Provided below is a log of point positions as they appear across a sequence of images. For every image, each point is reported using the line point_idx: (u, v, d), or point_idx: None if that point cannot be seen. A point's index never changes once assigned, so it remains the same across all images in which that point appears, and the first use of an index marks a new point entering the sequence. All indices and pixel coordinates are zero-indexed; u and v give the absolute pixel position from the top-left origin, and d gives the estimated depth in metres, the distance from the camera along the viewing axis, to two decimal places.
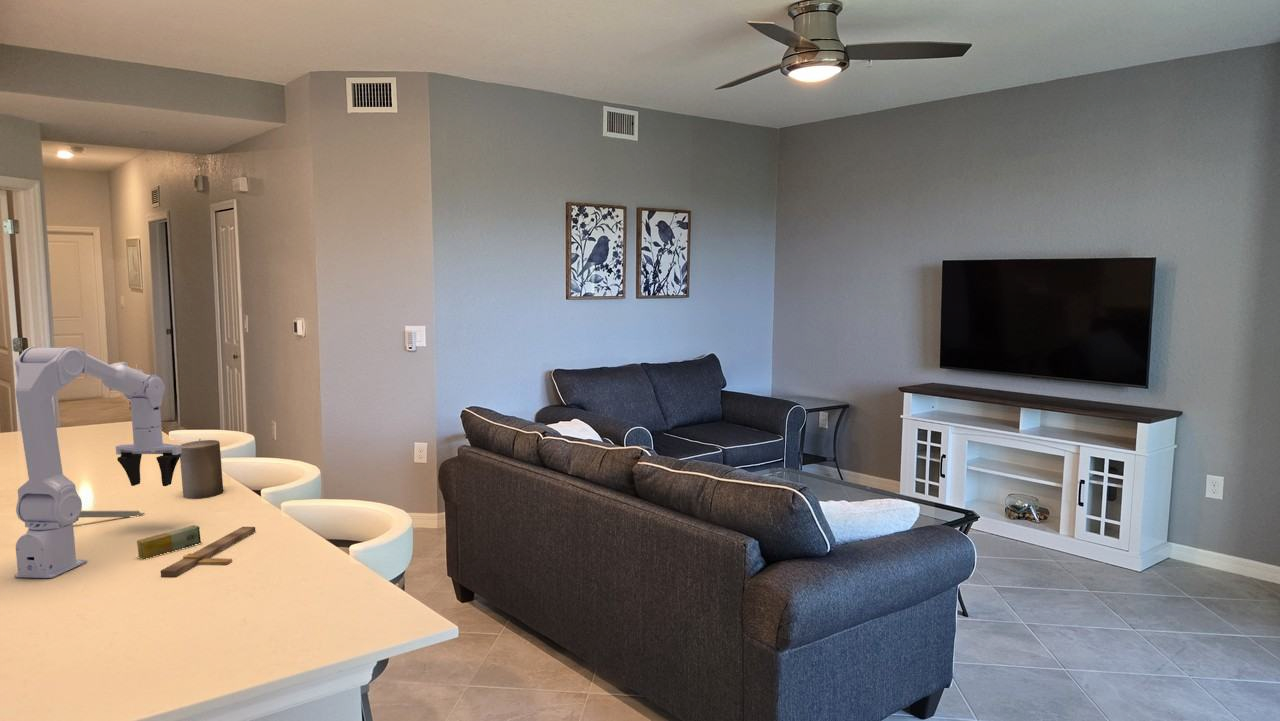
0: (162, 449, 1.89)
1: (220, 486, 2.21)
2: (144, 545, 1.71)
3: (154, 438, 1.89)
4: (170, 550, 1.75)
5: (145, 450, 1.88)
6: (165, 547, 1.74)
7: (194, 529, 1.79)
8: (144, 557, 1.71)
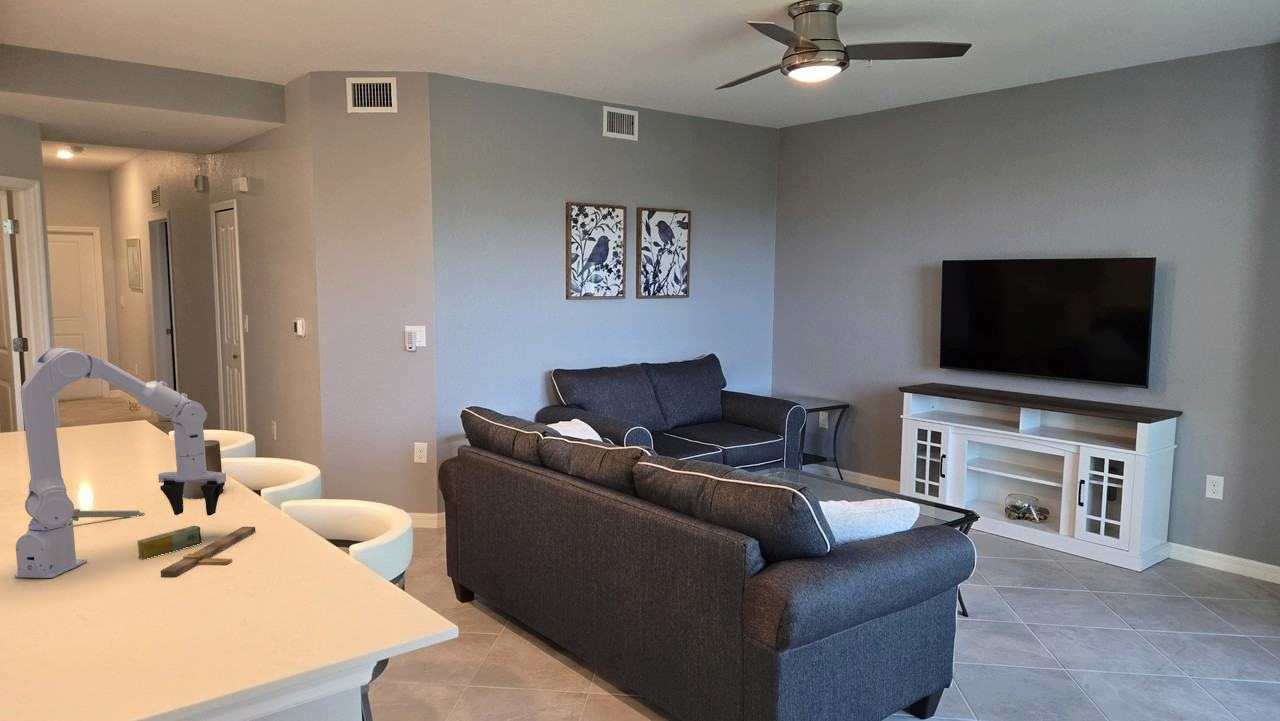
0: (206, 477, 1.82)
1: None
2: (145, 545, 1.70)
3: (198, 466, 1.82)
4: (171, 550, 1.75)
5: (189, 478, 1.81)
6: (165, 547, 1.74)
7: (195, 529, 1.79)
8: (144, 557, 1.70)
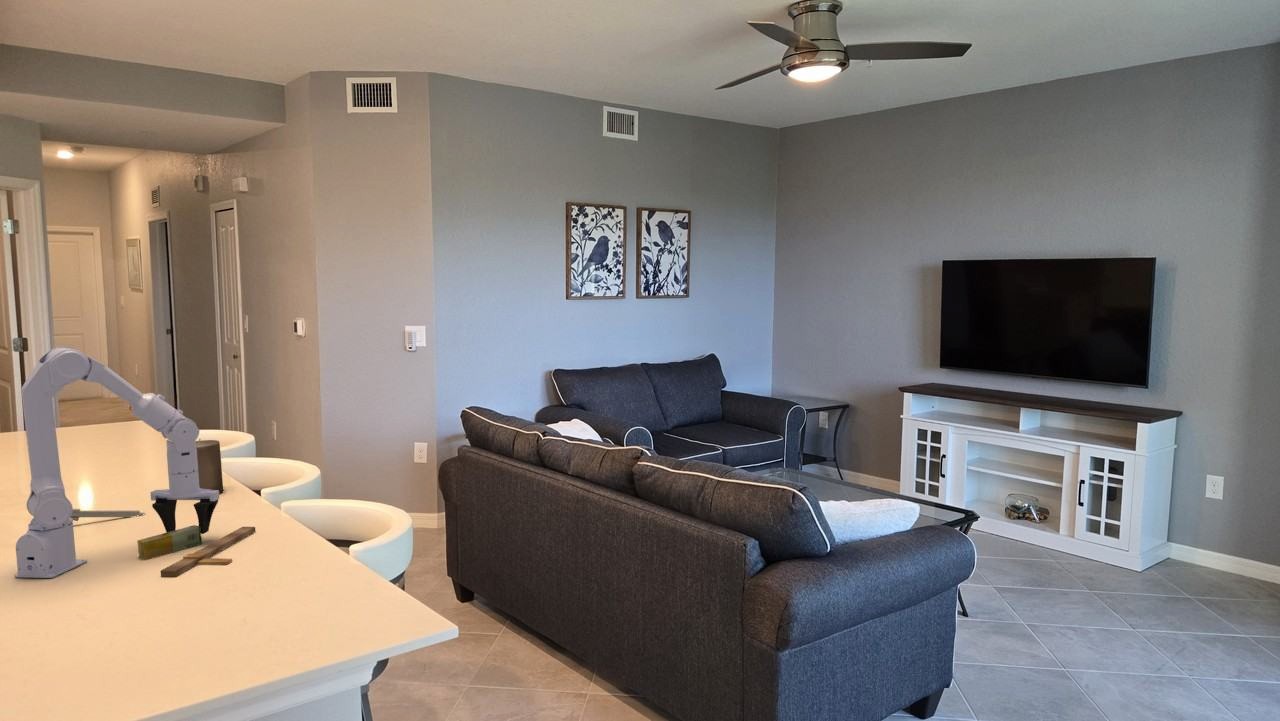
0: (199, 495, 1.79)
1: (220, 486, 2.21)
2: (145, 545, 1.70)
3: (191, 484, 1.79)
4: (171, 550, 1.74)
5: (182, 497, 1.78)
6: (165, 547, 1.73)
7: (195, 529, 1.78)
8: (144, 557, 1.70)
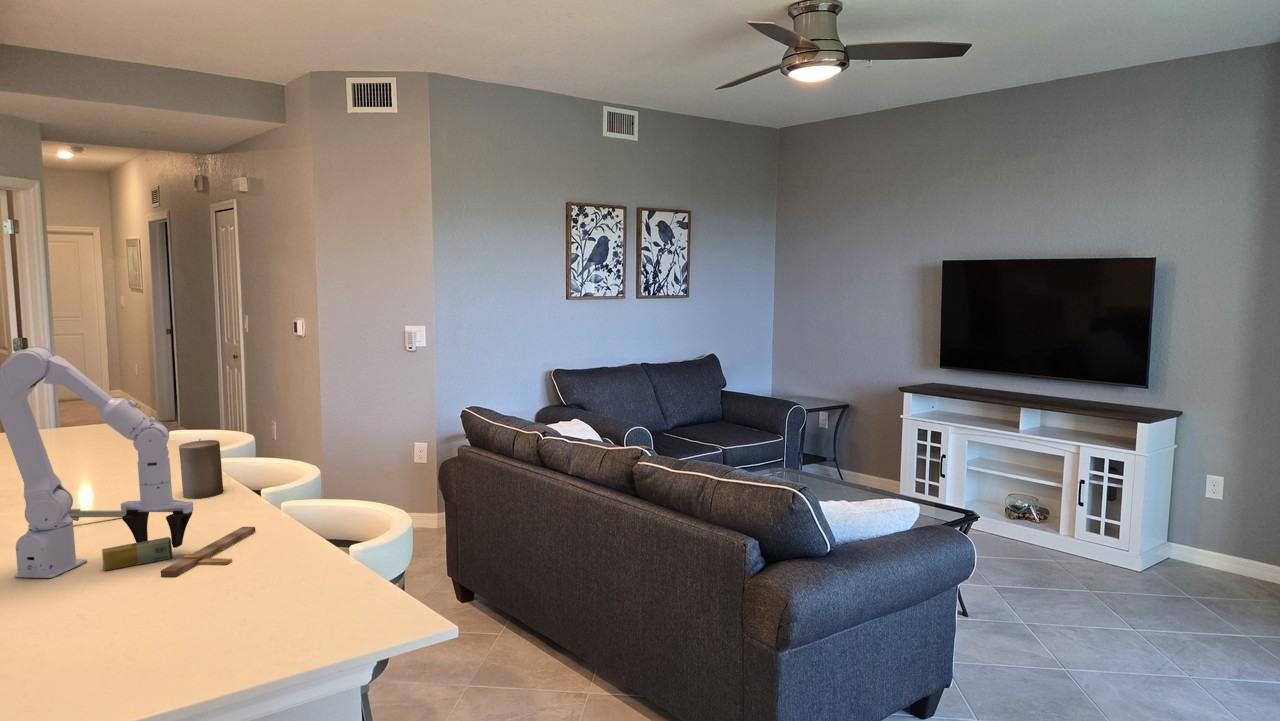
0: (172, 507, 1.70)
1: (220, 486, 2.21)
2: (105, 555, 1.64)
3: (163, 495, 1.70)
4: (135, 562, 1.67)
5: (153, 509, 1.69)
6: (129, 559, 1.66)
7: (164, 542, 1.70)
8: (104, 568, 1.64)
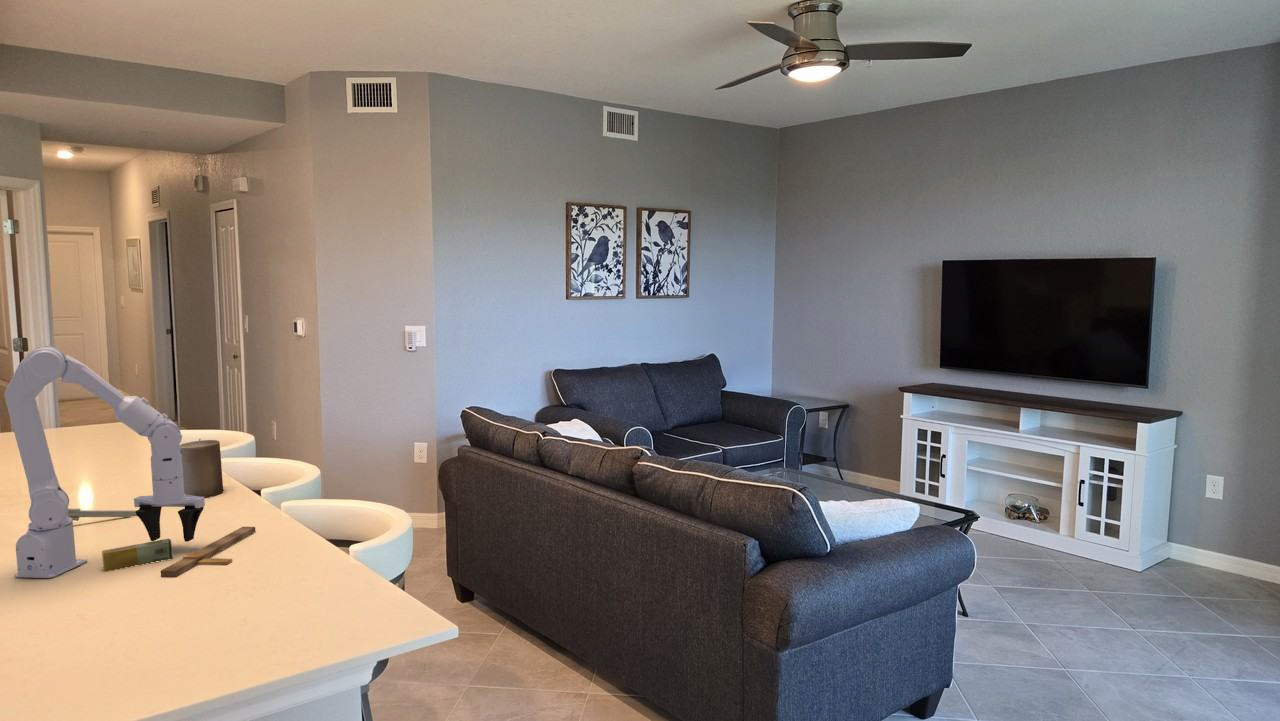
0: (184, 502, 1.74)
1: (220, 486, 2.21)
2: (105, 557, 1.64)
3: (175, 490, 1.74)
4: (135, 564, 1.67)
5: (166, 503, 1.73)
6: (129, 560, 1.66)
7: (164, 543, 1.70)
8: (104, 569, 1.64)
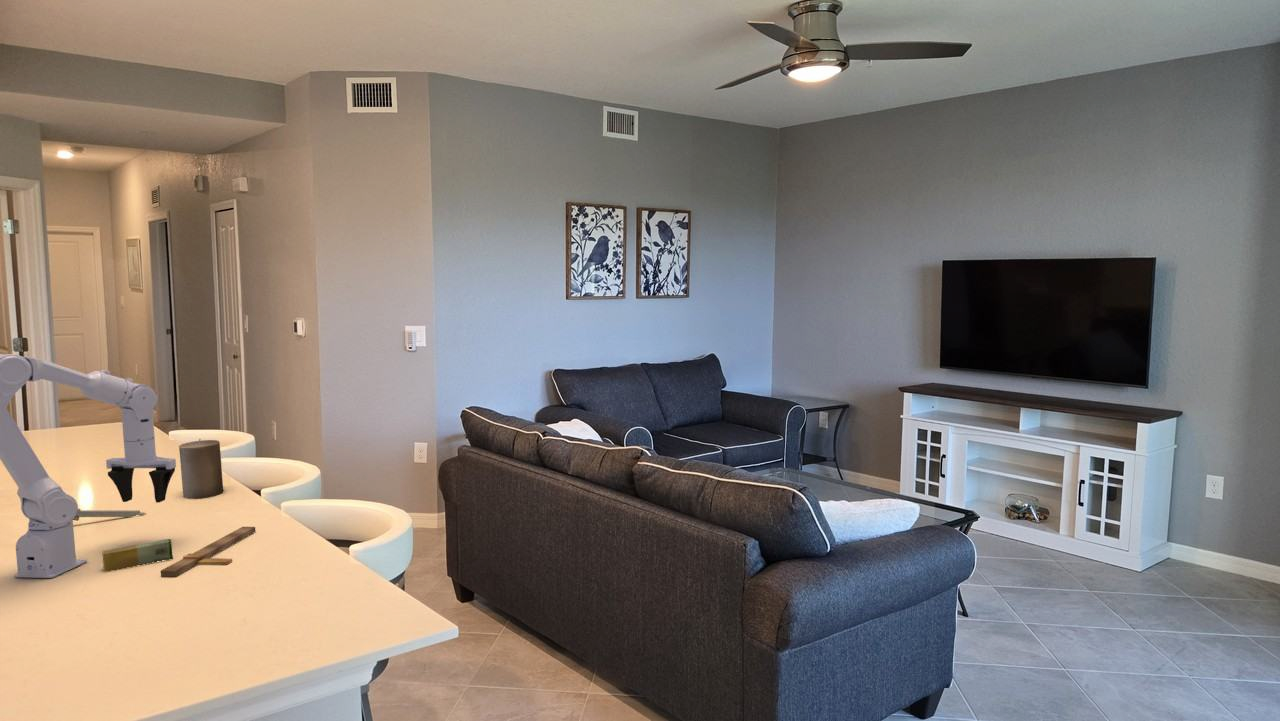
0: (155, 463, 1.77)
1: (220, 486, 2.21)
2: (105, 557, 1.63)
3: (147, 451, 1.77)
4: (135, 564, 1.67)
5: (137, 464, 1.76)
6: (129, 560, 1.66)
7: (165, 543, 1.70)
8: (105, 569, 1.64)
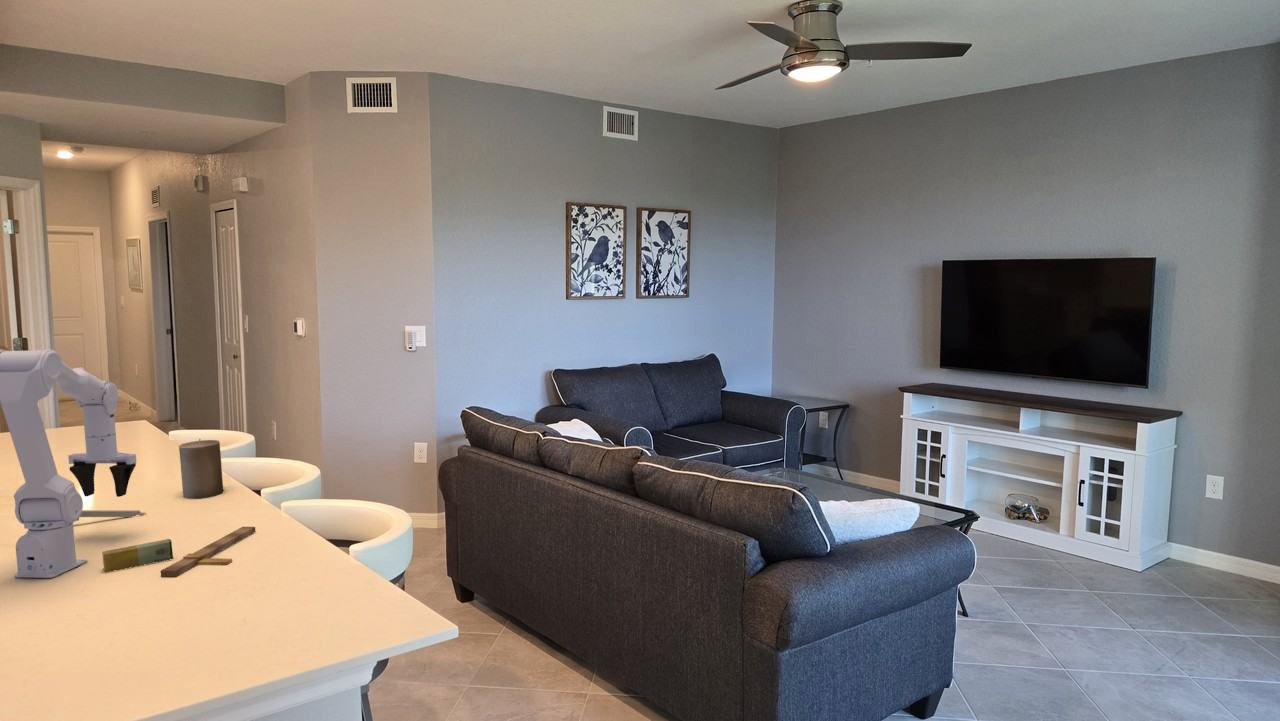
0: (115, 458, 1.82)
1: (220, 486, 2.21)
2: (106, 557, 1.63)
3: (107, 447, 1.82)
4: (136, 564, 1.66)
5: (98, 459, 1.81)
6: (130, 560, 1.66)
7: (165, 543, 1.69)
8: (105, 570, 1.63)
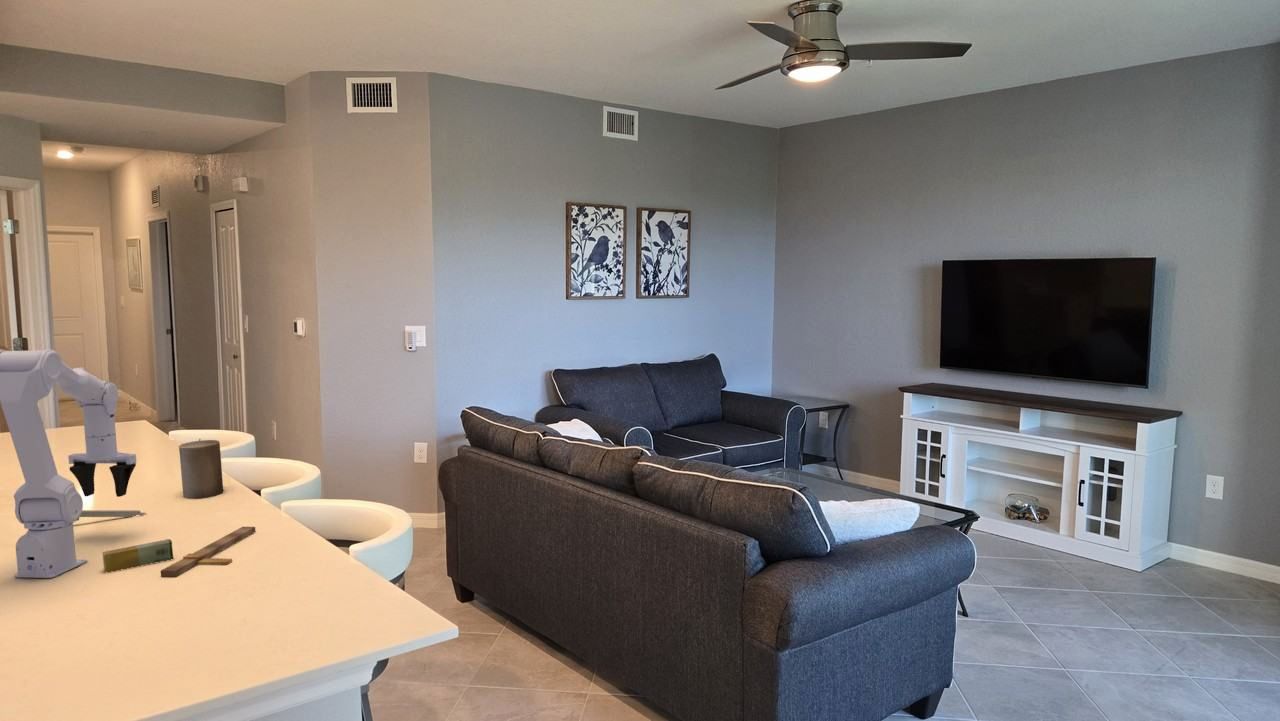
0: (115, 458, 1.82)
1: (220, 486, 2.21)
2: (106, 558, 1.63)
3: (107, 447, 1.82)
4: (136, 564, 1.66)
5: (98, 459, 1.81)
6: (130, 561, 1.66)
7: (165, 544, 1.69)
8: (106, 570, 1.63)
